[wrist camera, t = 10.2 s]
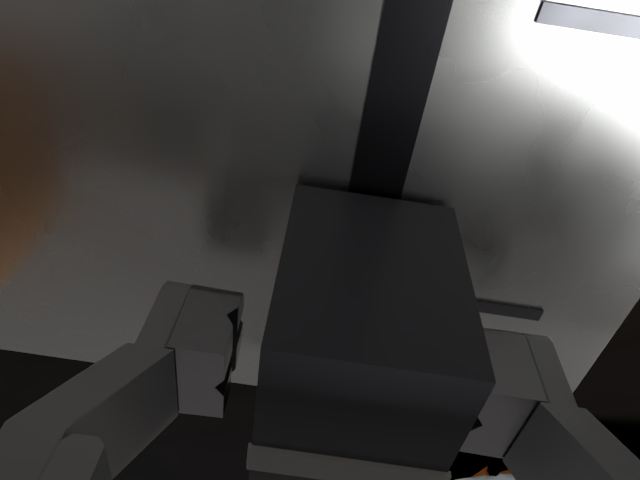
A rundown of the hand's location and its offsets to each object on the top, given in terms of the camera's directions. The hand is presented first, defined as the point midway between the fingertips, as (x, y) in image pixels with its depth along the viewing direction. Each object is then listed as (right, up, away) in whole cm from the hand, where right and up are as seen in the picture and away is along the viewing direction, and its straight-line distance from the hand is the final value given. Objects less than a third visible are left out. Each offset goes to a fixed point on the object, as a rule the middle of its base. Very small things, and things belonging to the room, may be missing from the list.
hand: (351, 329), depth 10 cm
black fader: (0, +1, +1) cm, 1 cm away
